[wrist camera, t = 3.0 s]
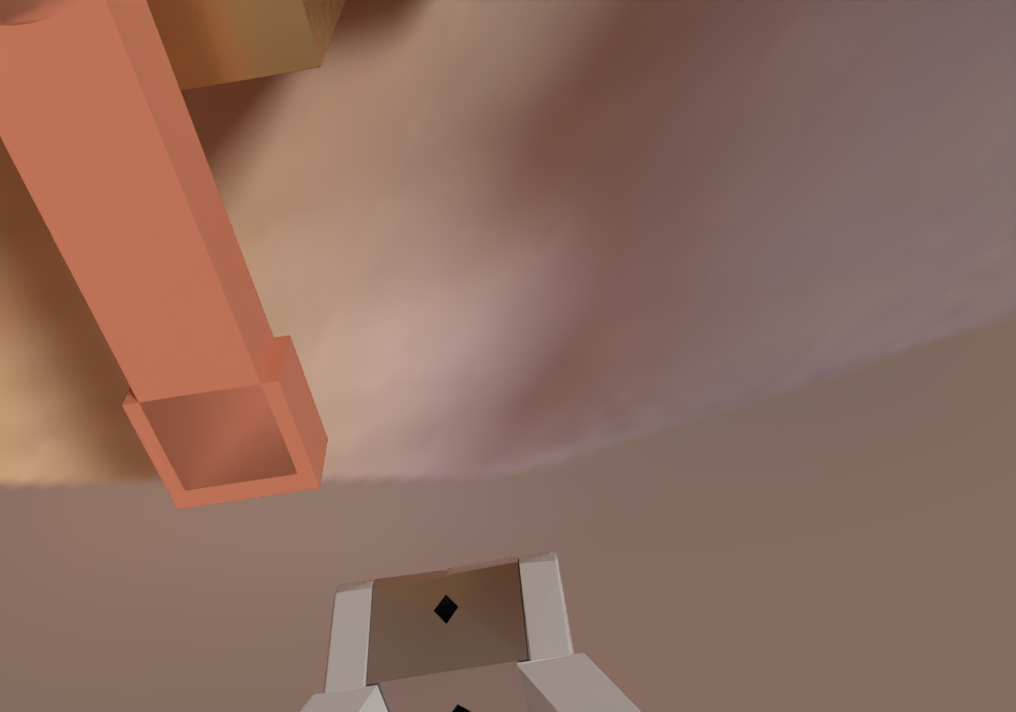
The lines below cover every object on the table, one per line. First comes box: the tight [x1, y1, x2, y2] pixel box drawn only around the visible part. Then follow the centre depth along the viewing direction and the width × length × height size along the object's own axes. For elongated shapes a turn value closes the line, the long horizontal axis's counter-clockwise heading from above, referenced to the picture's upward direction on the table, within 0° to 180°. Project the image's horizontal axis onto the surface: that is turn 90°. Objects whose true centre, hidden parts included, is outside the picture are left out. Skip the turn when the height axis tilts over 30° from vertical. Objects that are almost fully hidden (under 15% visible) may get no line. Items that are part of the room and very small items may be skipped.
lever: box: [0, 0, 328, 509], centre depth 16 cm, size 4×14×2 cm, turn 8°
